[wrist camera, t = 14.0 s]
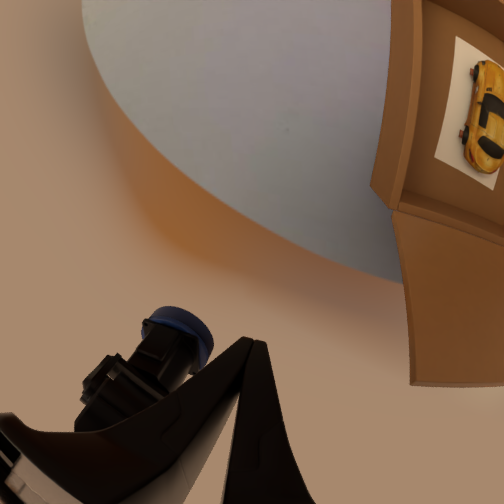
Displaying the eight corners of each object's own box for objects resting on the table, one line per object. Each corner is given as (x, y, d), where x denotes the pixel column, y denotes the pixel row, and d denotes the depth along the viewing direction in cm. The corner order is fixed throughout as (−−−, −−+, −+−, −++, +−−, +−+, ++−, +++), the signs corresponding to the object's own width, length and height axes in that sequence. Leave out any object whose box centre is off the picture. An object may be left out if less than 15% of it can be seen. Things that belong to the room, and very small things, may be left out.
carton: (516, 237, 14) (551, 268, 9) (369, 186, 16) (387, 208, 12) (539, 69, 7) (576, 66, 2) (390, -14, 9) (407, -50, 4)
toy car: (508, 81, 9) (526, 79, 7) (489, 181, 13) (507, 189, 11) (467, 51, 9) (483, 44, 7) (448, 157, 13) (465, 162, 11)
